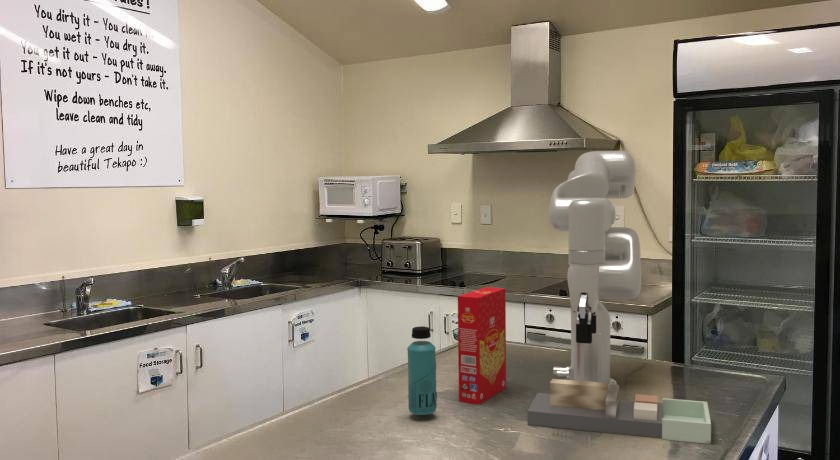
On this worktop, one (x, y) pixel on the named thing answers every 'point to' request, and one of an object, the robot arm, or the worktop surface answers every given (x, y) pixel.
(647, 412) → the tile cream
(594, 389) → the scraper
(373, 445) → the worktop surface
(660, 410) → the grey platform with tray
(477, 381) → the food packaging
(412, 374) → the beverage bottle
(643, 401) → the tile terracotta
